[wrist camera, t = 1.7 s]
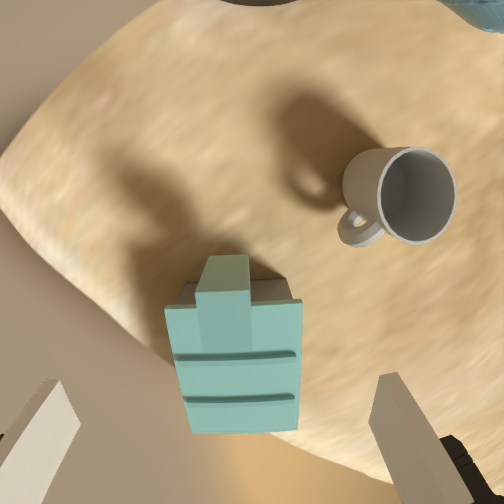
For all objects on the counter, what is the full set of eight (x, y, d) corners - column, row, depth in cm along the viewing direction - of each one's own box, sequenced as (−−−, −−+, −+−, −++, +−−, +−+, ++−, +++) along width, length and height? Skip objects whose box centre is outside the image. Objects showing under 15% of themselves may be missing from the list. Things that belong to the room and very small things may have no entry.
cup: (417, 189, 29) (470, 201, 20) (351, 255, 30) (387, 289, 22) (376, 133, 27) (422, 126, 18) (304, 202, 29) (327, 220, 20)
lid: (158, 258, 24) (128, 294, 17) (300, 250, 24) (321, 285, 17) (192, 428, 29) (184, 478, 22) (296, 424, 29) (305, 475, 22)
